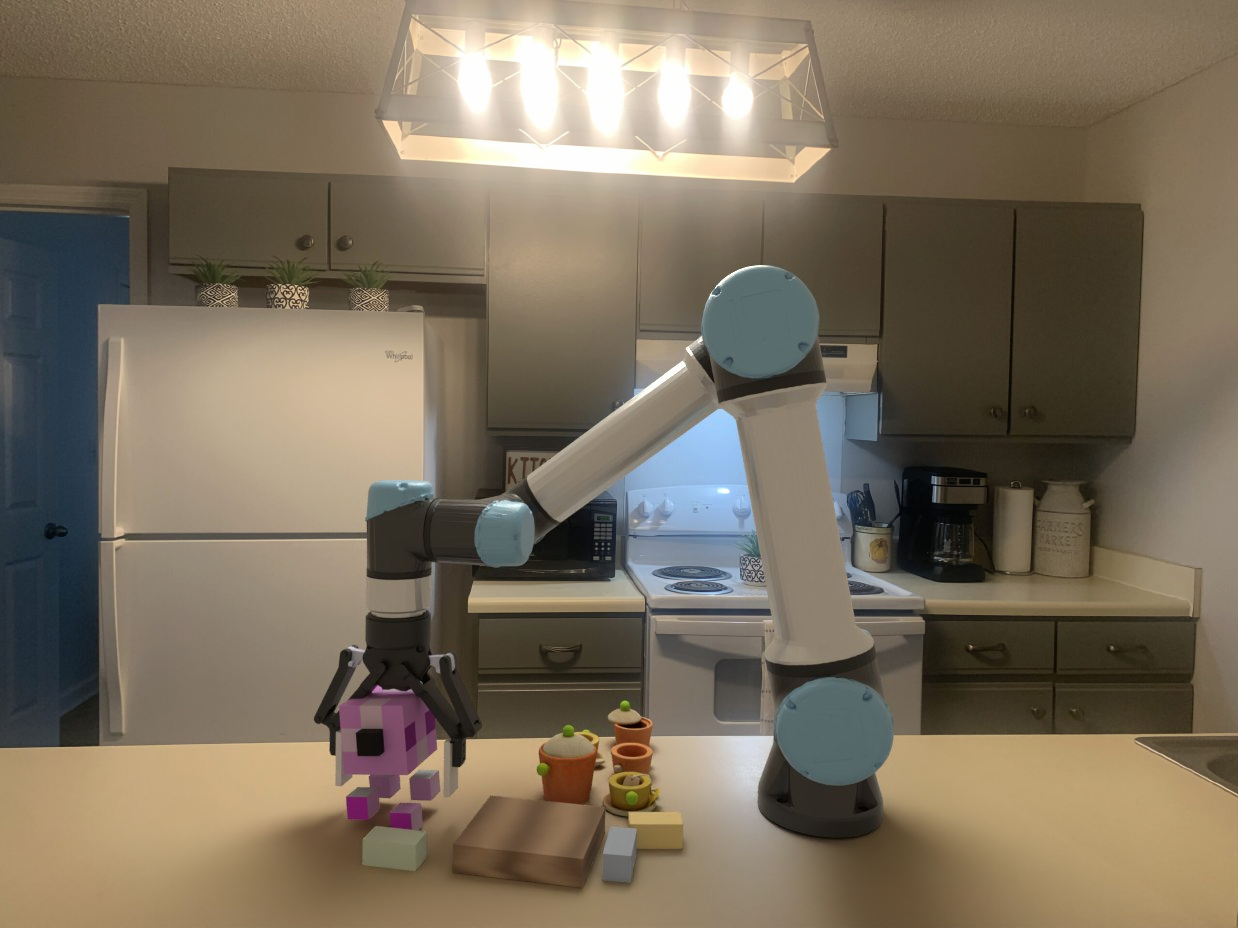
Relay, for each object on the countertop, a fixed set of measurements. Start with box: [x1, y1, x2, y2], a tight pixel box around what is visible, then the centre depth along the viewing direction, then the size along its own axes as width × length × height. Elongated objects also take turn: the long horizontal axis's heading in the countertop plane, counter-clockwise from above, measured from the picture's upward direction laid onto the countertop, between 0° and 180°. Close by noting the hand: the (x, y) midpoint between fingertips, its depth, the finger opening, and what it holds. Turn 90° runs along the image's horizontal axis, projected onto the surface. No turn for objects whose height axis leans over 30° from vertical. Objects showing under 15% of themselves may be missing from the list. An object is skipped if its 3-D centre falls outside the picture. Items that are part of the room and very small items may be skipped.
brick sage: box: [361, 825, 428, 872], centre depth 88 cm, size 6×3×3 cm, turn 80°
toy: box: [338, 685, 441, 831], centre depth 98 cm, size 11×8×15 cm
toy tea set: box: [536, 700, 661, 817], centre depth 111 cm, size 26×16×10 cm, turn 177°
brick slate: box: [601, 826, 637, 884], centre depth 88 cm, size 6×3×3 cm, turn 173°
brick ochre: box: [627, 811, 684, 850], centre depth 94 cm, size 6×3×3 cm, turn 92°
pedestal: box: [452, 794, 606, 889], centre depth 91 cm, size 14×12×3 cm
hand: (396, 787), depth 98 cm, fingers open, 13 cm apart
